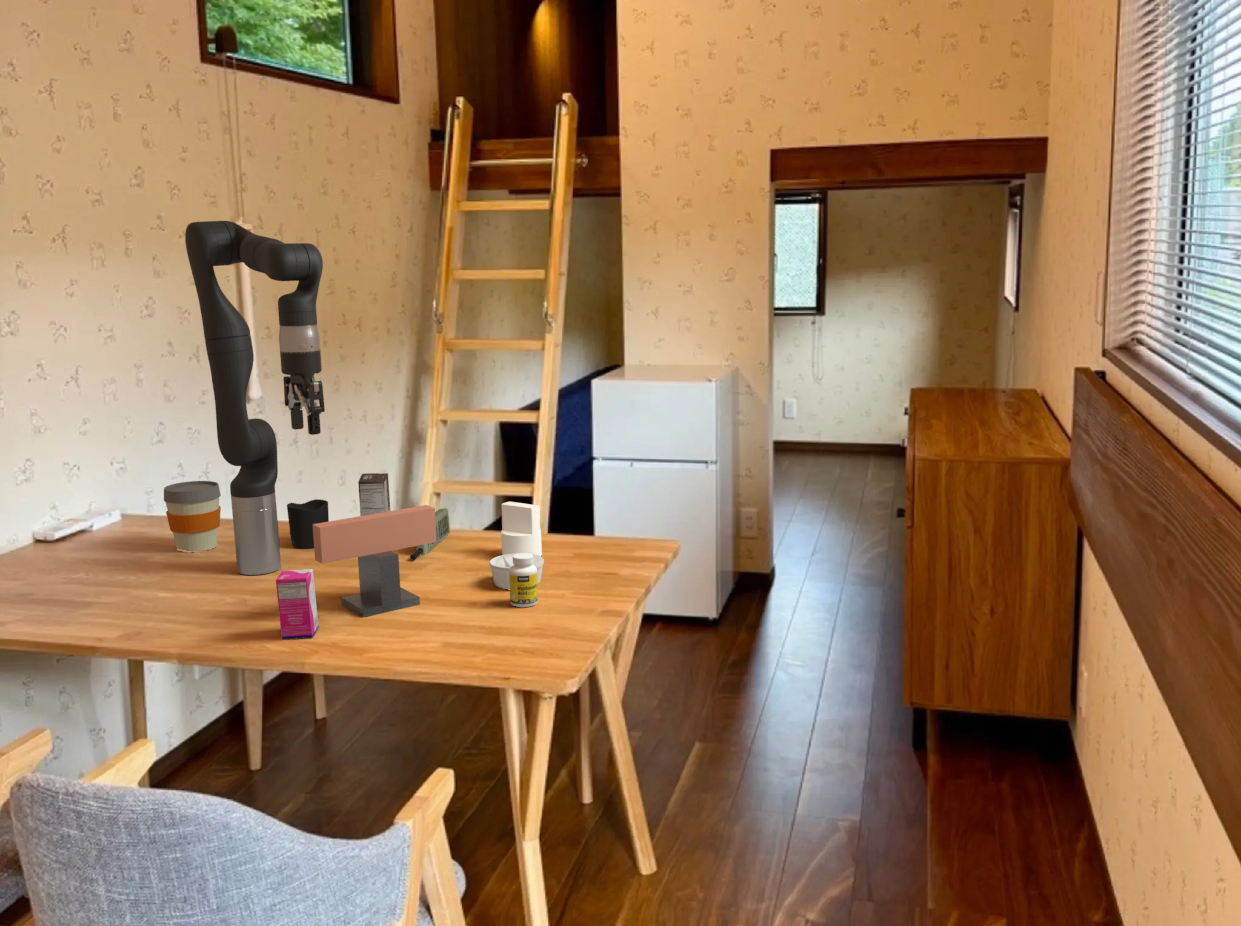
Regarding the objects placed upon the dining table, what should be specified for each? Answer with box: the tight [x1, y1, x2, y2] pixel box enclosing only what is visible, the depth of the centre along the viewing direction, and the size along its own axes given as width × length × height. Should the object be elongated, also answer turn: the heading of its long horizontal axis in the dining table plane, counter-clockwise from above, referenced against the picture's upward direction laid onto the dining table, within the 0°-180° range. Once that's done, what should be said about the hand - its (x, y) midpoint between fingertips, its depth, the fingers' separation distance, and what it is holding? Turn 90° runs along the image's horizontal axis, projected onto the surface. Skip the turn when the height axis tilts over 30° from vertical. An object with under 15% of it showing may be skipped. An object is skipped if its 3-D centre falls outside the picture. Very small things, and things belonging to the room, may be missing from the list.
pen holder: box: [286, 499, 330, 550], centre depth 262 cm, size 9×9×10 cm
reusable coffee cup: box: [163, 480, 222, 551], centre depth 260 cm, size 13×13×15 cm
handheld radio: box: [409, 508, 451, 561], centre depth 259 cm, size 7×3×25 cm
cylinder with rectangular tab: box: [500, 501, 543, 556], centre depth 249 cm, size 9×9×12 cm
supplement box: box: [275, 568, 319, 640], centre depth 201 cm, size 6×6×12 cm
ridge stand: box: [340, 550, 421, 618], centre depth 216 cm, size 10×12×11 cm
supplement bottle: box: [509, 553, 538, 608], centre depth 216 cm, size 5×5×10 cm
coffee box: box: [357, 472, 391, 516], centre depth 262 cm, size 9×6×16 cm
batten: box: [313, 504, 436, 565], centre depth 215 cm, size 4×24×7 cm, turn 127°
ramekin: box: [488, 553, 545, 590], centre depth 229 cm, size 11×11×5 cm
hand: (306, 431), depth 215 cm, fingers open, 8 cm apart
